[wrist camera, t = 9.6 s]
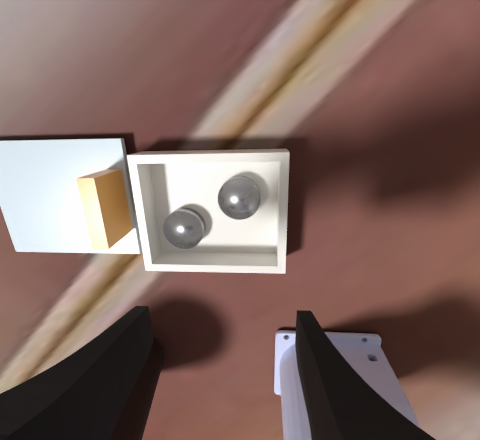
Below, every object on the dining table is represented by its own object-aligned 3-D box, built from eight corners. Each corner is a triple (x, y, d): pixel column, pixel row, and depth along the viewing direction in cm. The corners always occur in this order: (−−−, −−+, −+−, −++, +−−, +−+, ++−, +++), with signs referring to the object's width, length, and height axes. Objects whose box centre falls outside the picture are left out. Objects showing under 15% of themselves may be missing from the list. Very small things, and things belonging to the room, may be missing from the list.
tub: (286, 148, 20) (289, 152, 18) (282, 257, 23) (285, 273, 21) (142, 151, 21) (126, 155, 18) (157, 255, 24) (145, 270, 21)
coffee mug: (160, 312, 26) (102, 419, 17) (184, 378, 29) (146, 502, 19) (55, 326, 28) (-52, 430, 18) (87, 387, 31) (9, 504, 21)
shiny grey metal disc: (265, 181, 21) (265, 183, 20) (255, 219, 22) (254, 224, 21) (224, 171, 20) (222, 173, 20) (216, 210, 22) (214, 214, 21)
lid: (128, 137, 21) (91, 142, 16) (146, 247, 24) (118, 276, 20) (-6, 140, 22) (-78, 145, 17) (27, 245, 25) (-25, 272, 21)
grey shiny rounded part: (179, 200, 21) (175, 203, 21) (212, 222, 22) (210, 227, 21) (160, 229, 23) (156, 234, 22) (192, 250, 23) (189, 255, 22)
